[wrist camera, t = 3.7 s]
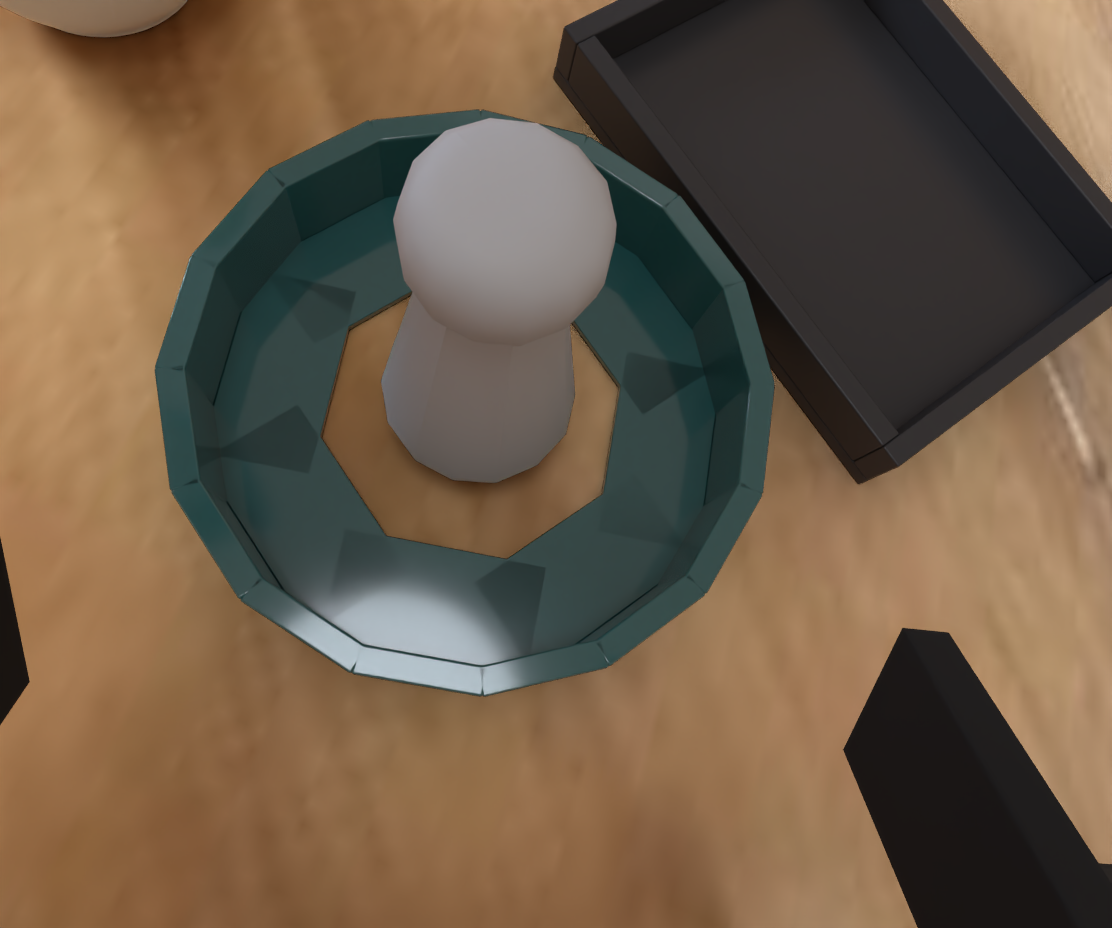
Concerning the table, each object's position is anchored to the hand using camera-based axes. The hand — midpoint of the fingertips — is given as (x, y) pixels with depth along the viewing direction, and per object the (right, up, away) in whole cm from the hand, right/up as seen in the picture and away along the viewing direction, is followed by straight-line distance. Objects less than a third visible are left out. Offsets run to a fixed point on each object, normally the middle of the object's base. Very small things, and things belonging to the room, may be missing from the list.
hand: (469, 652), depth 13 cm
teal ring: (-1, +5, +15) cm, 16 cm away
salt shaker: (-1, +5, +15) cm, 16 cm away
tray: (+12, +13, +19) cm, 26 cm away
